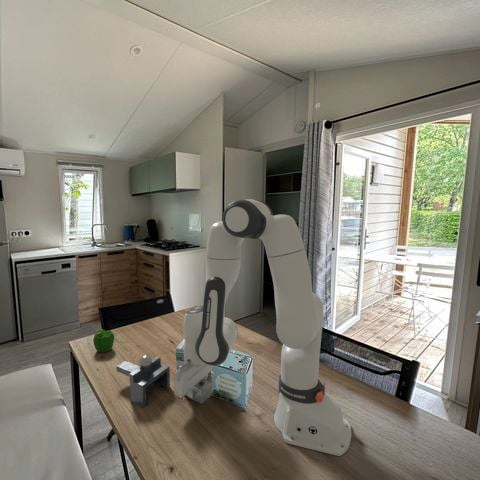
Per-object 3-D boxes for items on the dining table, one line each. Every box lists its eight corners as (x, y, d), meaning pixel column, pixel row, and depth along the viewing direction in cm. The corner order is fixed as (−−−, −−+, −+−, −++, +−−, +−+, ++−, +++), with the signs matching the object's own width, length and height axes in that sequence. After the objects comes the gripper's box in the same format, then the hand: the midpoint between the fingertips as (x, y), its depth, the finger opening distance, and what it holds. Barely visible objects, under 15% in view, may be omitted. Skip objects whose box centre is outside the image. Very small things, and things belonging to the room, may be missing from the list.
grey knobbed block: (211, 395, 100) (210, 381, 99) (201, 403, 96) (201, 389, 95) (193, 387, 104) (193, 374, 104) (183, 395, 100) (183, 381, 100)
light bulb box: (192, 376, 111) (191, 350, 109) (175, 374, 112) (175, 348, 111) (201, 361, 121) (201, 337, 120) (186, 359, 123) (185, 335, 121)
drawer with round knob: (169, 386, 105) (169, 351, 103) (143, 407, 94) (141, 369, 92) (134, 372, 113) (133, 339, 112) (106, 390, 102) (104, 355, 101)
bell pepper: (117, 345, 134) (116, 324, 133) (110, 354, 126) (109, 332, 125) (99, 345, 134) (98, 324, 133) (90, 354, 126) (89, 332, 125)
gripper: (184, 371, 88) (185, 413, 89) (220, 343, 105) (220, 378, 107) (168, 366, 90) (169, 406, 92) (206, 339, 108) (206, 373, 110)
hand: (197, 391), depth 100 cm, fingers closed on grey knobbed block, 5 cm apart
